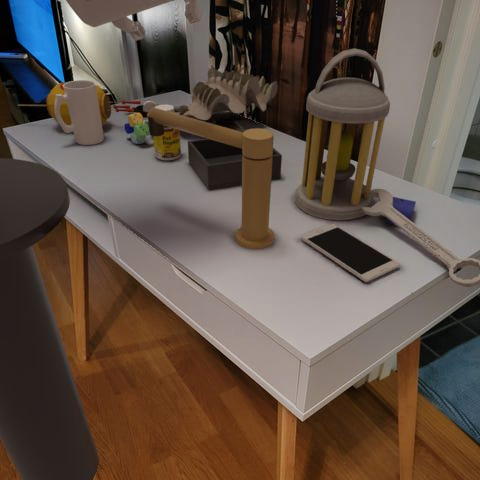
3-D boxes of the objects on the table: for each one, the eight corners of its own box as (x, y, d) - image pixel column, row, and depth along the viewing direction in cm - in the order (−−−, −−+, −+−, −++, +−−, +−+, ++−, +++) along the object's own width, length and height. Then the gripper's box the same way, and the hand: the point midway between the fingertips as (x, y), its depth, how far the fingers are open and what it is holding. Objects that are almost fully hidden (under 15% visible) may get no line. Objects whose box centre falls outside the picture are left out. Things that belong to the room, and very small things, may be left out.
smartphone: (333, 222, 82) (401, 264, 73) (332, 226, 83) (401, 267, 73) (299, 235, 79) (366, 280, 70) (298, 239, 79) (366, 284, 70)
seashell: (238, 102, 134) (248, 44, 123) (283, 134, 126) (299, 74, 115) (152, 119, 118) (155, 54, 107) (197, 156, 110) (205, 90, 100)
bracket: (408, 227, 82) (412, 214, 81) (380, 221, 83) (384, 208, 82) (414, 205, 89) (418, 192, 87) (388, 200, 90) (392, 187, 89)
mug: (96, 132, 115) (86, 78, 108) (110, 141, 112) (101, 85, 104) (56, 142, 110) (42, 86, 103) (69, 151, 107) (56, 93, 99)
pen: (186, 111, 128) (186, 107, 127) (123, 114, 125) (122, 109, 124) (186, 109, 129) (186, 104, 128) (122, 111, 126) (122, 106, 125)
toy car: (230, 124, 120) (230, 108, 118) (260, 138, 113) (261, 122, 110) (211, 129, 117) (210, 112, 115) (241, 144, 110) (241, 127, 108)
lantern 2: (148, 117, 121) (32, 115, 123) (142, 76, 114) (18, 75, 116) (139, 136, 114) (16, 134, 116) (132, 94, 107) (1, 92, 109)
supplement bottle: (163, 163, 102) (158, 113, 95) (151, 155, 106) (145, 105, 99) (186, 157, 105) (182, 108, 98) (173, 149, 108) (169, 101, 101)
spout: (277, 164, 72) (279, 132, 69) (260, 173, 69) (262, 141, 66) (161, 128, 83) (158, 100, 80) (142, 136, 80) (138, 106, 77)
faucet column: (243, 252, 77) (245, 166, 67) (229, 232, 81) (229, 150, 72) (280, 244, 78) (286, 160, 69) (264, 225, 83) (268, 144, 74)
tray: (208, 190, 93) (207, 166, 90) (188, 163, 102) (187, 141, 99) (280, 178, 97) (282, 155, 94) (255, 154, 107) (256, 132, 103)
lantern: (300, 220, 84) (316, 61, 68) (290, 184, 95) (302, 39, 78) (381, 219, 84) (416, 61, 68) (362, 183, 95) (389, 39, 79)
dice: (125, 137, 113) (121, 108, 109) (135, 135, 114) (131, 106, 110) (141, 148, 108) (137, 118, 104) (151, 145, 109) (148, 116, 105)
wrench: (353, 205, 85) (353, 197, 83) (378, 188, 85) (378, 180, 84) (465, 297, 71) (466, 290, 69) (494, 276, 71) (496, 268, 69)
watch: (134, 100, 122) (134, 111, 125) (137, 113, 120) (137, 125, 123) (164, 99, 124) (163, 110, 127) (168, 113, 122) (167, 124, 125)
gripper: (184, -118, 55) (234, -11, 67) (48, -57, 63) (114, 28, 75) (177, -76, 53) (230, 26, 65) (38, -19, 61) (108, 62, 74)
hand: (167, 27), depth 70 cm, fingers open, 8 cm apart
